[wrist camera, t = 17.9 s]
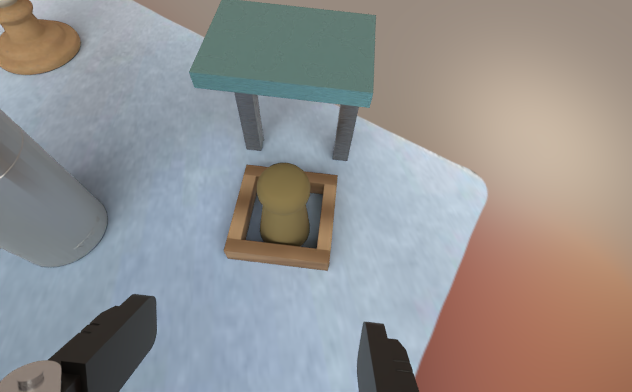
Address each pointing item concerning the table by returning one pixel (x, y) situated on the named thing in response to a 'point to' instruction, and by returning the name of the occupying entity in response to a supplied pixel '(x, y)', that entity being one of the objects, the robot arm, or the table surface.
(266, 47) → the mint green stool
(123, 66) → the table surface
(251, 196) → the socket
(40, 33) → the candle holder
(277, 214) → the cork
